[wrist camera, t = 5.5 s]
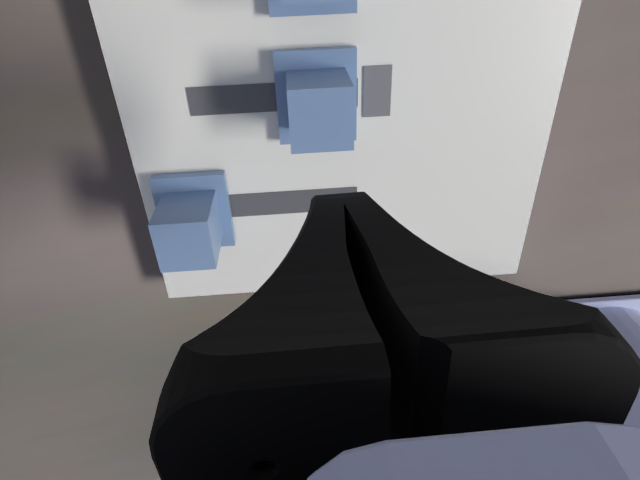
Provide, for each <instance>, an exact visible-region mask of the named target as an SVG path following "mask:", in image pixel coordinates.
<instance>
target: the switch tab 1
mask: <svg viewBox="0 0 640 480" xmlns="http://www.w3.org/2000/svg"><path fill="white" fill-rule="evenodd" d="M148 180H149V184H150V188H151V192H152V195H153V199H154V203H155V207H156V209H155V211H154V213H153V215H152V217H151V220H150V222H149V224H148V228H149V232H150V236H151V239H152V243H153V247H154V250H155V254H156V258H157V261H158V265H159V269H160V272H161V273H167V272H181V271H196V270H210V269H216V268H217V263H218V258H219V253H220V248H221V247H223V246H235V243H236V238H235V232H234V225H233V219H232V213H231V206H230V200H229V194H228V187H227V181H226V175H225V170H222V171H206V172H189V173H173V174H156V175H151V176H150V177H149V179H148Z"/></svg>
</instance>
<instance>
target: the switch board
mask: <svg viewBox="0 0 640 480" xmlns="http://www.w3.org/2000/svg"><path fill="white" fill-rule="evenodd" d="M89 4H90V8H91V11H92V15H93V19H94V22H95V26H96V30H97V33H98V37H99V41H100V45H101V48H102V52H103V56H104V59H105V63H106V67H107V70H108V74H109V78H110V81H111V85H112V89H113V93H114V96H115V100H116V104H117V107H118V111H119V115H120V118H121V122H122V126H123V129H124V133H125V137H126V141H127V144H128V148H129V152H130V155H131V159H132V163H133V166H134V170H135V174H136V177H137V181H138V185H139V189H140V192H141V196H142V200H143V203H144V207H145V211H146V214H147V218H148V222H150V220H151V217H152V215H153V213H154V211H155V209H156V207H155V203H154V199H153V195H152V192H151V188H150V184H149V180H148V179H149V177H150V176H151V175H156V174H173V173H189V172H206V171H222V170H225V175H226V181H227V187H228V194H229V200H230V206H231V213H232V219H233V225H234V232H235V238H236V243H235V246H223V247H221V248H220V253H219V258H218V263H217V268H216V269H210V270H196V271H181V272H167V273H163V277H164V281H165V285H166V288H167V292H168V296H169V298H177V297H191V296H205V295H219V294H233V293H247V292H256V291H257V290H258V289H259V288H260V287H261V286H262V285H263V284H264V283H265V282H266V281H267V280H268V278H269V277H270V276H271V275H272V274H273V272H274V271H275V270H276V269H277V267H278V266H279V265H280V263H281V262H282V260H283V259H284V258H285V256H286V255H287V253H288V251H289V250H290V248H291V246H292V245H293V243H294V242H295V240H296V238H297V236H298V234H299V232H300V230H301V228H302V226H303V224H304V222H305V219H306V217H307V214H308V211H309V208H310V204H311V199H312V198H313V197H314V196H315V195H325V194H338V193H351V192H365V193H366V194H368V195H369V196H370V197H371V198H372V199H373V200H374V201H375V202H376V203H377V204H378V205H380V206H381V207H382V208H383V209H384V210H385V211H386V212H387V213H388V214H389V215H391V216H392V217H393V218H394V219H395V220H397V221H398V222H399V223H400V224H402V225H403V226H404V227H405V228H407V229H408V230H409V231H411V232H412V233H413V234H415V235H416V236H418V237H419V238H421V239H422V240H423V241H425V242H426V243H428V244H429V245H431V246H433V247H434V248H436V249H437V250H439V251H441V252H443V253H444V254H446V255H448V256H450V257H452V258H453V259H455V260H457V261H459V262H461V263H463V264H465V265H467V266H469V267H471V268H474V269H476V270H478V271H480V272H483V273H485V274H487V275H500V274H514V273H517V269H518V265H519V261H520V256H521V252H522V248H523V244H524V240H525V235H526V231H527V227H528V223H529V219H530V214H531V210H532V206H533V202H534V198H535V193H536V189H537V185H538V181H539V177H540V172H541V168H542V164H543V160H544V156H545V151H546V147H547V143H548V139H549V135H550V130H551V126H552V122H553V118H554V114H555V109H556V105H557V101H558V97H559V93H560V88H561V84H562V80H563V76H564V72H565V67H566V63H567V59H568V55H569V51H570V46H571V42H572V38H573V34H574V30H575V26H576V21H577V17H578V13H579V9H580V5H581V0H357V13H349V14H329V15H308V16H288V17H269V8H268V0H89ZM339 46H356V47H357V126H356V140H354V150H353V151H336V152H320V153H303V154H291V145H290V144H285V145H280V136H279V125H278V113H277V101H276V90H275V78H274V66H273V55H272V50H281V49H300V48H320V47H339Z"/></svg>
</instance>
